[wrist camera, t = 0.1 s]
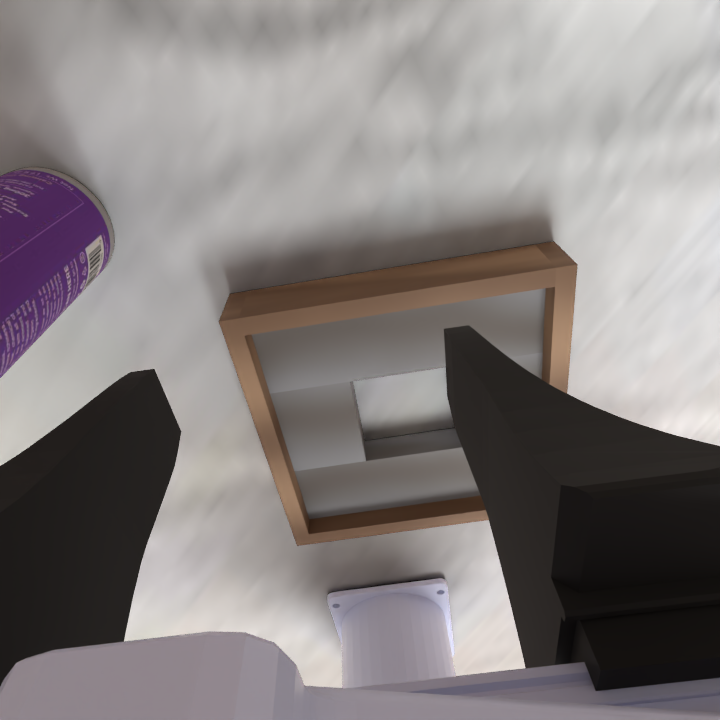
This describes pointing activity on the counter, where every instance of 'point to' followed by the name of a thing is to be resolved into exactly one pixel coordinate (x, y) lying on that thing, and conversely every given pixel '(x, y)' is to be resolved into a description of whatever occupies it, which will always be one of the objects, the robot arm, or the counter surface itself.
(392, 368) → the box
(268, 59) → the counter surface
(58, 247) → the container
